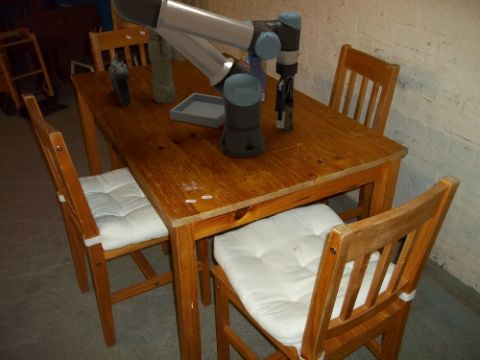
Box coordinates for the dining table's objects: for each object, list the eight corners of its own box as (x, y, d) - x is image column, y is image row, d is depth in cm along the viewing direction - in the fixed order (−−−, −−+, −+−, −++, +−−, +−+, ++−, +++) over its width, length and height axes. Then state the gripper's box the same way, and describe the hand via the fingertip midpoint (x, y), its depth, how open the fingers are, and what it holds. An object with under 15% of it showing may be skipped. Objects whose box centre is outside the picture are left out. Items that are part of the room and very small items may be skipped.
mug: (295, 129, 152) (298, 98, 145) (284, 133, 149) (286, 101, 143) (281, 121, 157) (283, 91, 151) (270, 125, 155) (271, 94, 148)
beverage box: (253, 91, 183) (254, 41, 171) (265, 100, 175) (267, 47, 163) (239, 94, 181) (239, 42, 169) (251, 103, 172) (251, 49, 160)
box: (217, 128, 153) (217, 119, 151) (170, 119, 159) (169, 110, 157) (238, 108, 168) (238, 99, 166) (194, 100, 174) (194, 92, 172)
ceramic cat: (134, 106, 169) (127, 57, 158) (118, 109, 167) (110, 59, 156) (124, 90, 184) (117, 44, 174) (109, 92, 182) (101, 46, 171)
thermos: (162, 106, 169) (153, 16, 150) (148, 98, 177) (138, 11, 158) (181, 101, 174) (174, 13, 154) (167, 93, 181) (158, 8, 162)
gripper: (289, 71, 131) (284, 136, 144) (305, 54, 146) (300, 114, 159) (266, 68, 133) (264, 132, 146) (285, 52, 149) (281, 111, 161)
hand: (283, 123), depth 152 cm, fingers open, 7 cm apart
